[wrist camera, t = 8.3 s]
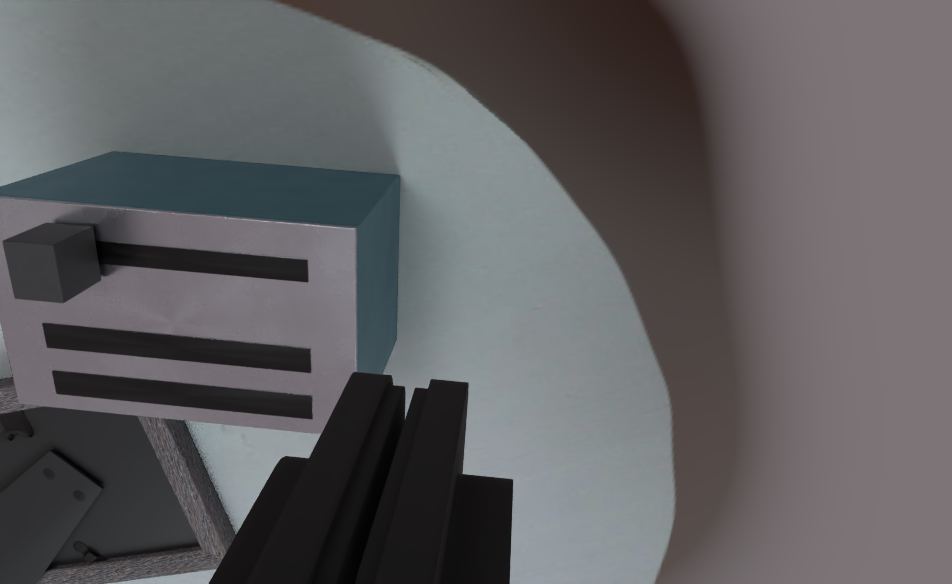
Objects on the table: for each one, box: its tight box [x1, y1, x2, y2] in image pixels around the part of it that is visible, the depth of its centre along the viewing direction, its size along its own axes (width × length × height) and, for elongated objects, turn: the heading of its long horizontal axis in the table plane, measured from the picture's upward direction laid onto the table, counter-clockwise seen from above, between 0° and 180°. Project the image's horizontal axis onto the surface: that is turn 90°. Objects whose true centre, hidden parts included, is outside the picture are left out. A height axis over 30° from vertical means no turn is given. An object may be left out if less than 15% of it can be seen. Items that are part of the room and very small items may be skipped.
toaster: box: [0, 151, 400, 434], centre depth 33 cm, size 10×16×10 cm, turn 86°
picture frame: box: [0, 377, 236, 584], centre depth 45 cm, size 16×2×21 cm
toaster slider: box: [2, 222, 101, 303], centre depth 26 cm, size 2×2×2 cm
